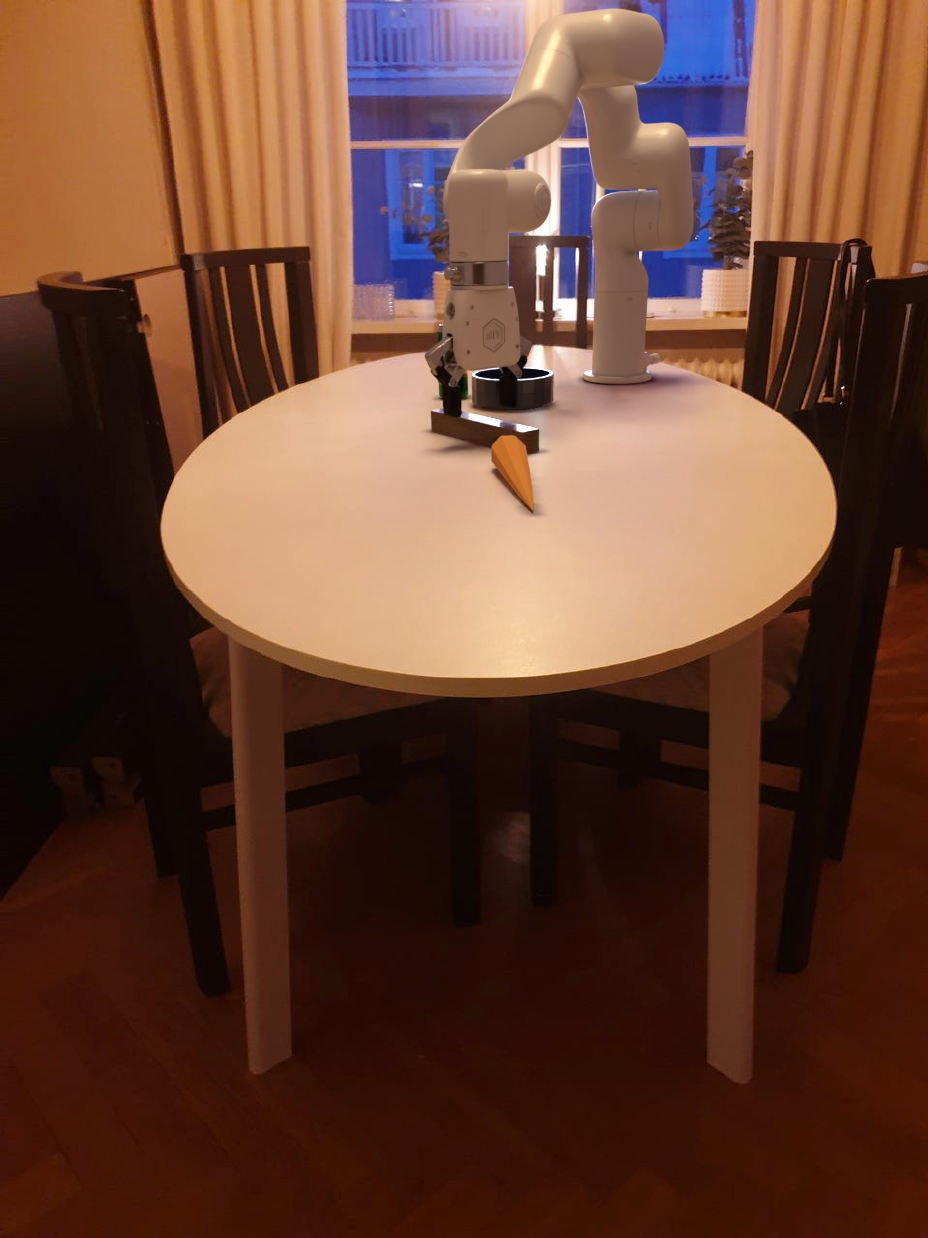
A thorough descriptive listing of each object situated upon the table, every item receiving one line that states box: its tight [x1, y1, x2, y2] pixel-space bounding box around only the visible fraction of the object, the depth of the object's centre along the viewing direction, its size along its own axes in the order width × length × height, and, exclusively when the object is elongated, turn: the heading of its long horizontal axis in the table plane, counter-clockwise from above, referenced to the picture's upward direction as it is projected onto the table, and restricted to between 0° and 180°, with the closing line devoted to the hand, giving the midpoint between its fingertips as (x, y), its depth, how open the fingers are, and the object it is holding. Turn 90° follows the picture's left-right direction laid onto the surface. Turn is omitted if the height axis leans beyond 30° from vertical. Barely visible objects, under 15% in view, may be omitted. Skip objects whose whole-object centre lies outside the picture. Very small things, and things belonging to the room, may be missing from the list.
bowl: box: [471, 366, 555, 412], centre depth 147 cm, size 13×13×5 cm
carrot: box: [490, 435, 534, 511], centre depth 102 cm, size 20×4×4 cm, turn 6°
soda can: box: [436, 323, 469, 400], centre depth 152 cm, size 5×5×12 cm
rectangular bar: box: [430, 408, 540, 455], centre depth 124 cm, size 3×20×3 cm, turn 38°
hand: (481, 411), depth 122 cm, fingers open, 9 cm apart
